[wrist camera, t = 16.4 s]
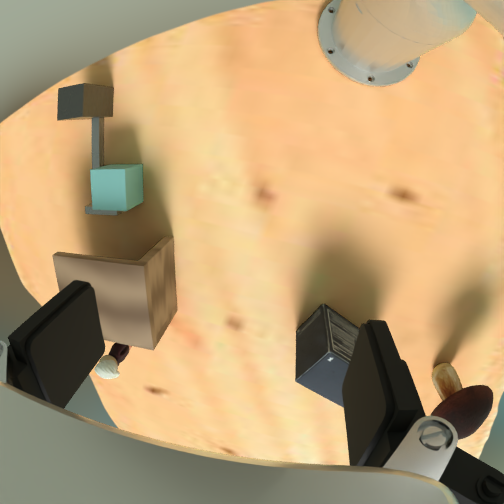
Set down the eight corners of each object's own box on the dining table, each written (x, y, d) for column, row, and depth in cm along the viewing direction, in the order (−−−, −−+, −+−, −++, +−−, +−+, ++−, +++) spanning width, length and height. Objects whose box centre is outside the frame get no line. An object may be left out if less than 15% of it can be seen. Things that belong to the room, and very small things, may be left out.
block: (110, 164, 40) (90, 169, 35) (143, 163, 39) (124, 169, 34) (111, 200, 41) (92, 209, 37) (143, 201, 41) (126, 211, 36)
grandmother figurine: (130, 300, 47) (89, 349, 35) (152, 310, 47) (116, 363, 35) (123, 336, 50) (88, 386, 38) (144, 346, 50) (112, 398, 38)
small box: (292, 332, 45) (291, 382, 36) (322, 301, 43) (329, 348, 33) (345, 365, 47) (353, 415, 37) (375, 338, 44) (390, 387, 35)
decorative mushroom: (416, 347, 44) (447, 416, 30) (474, 337, 43) (513, 397, 29) (405, 395, 48) (425, 462, 34) (458, 385, 46) (486, 445, 32)
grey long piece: (89, 91, 36) (58, 88, 29) (129, 85, 35) (101, 80, 29) (91, 207, 42) (62, 220, 35) (129, 208, 41) (103, 223, 35)
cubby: (92, 230, 43) (52, 255, 34) (173, 237, 42) (143, 266, 33) (101, 298, 47) (69, 331, 38) (177, 310, 46) (153, 350, 37)
